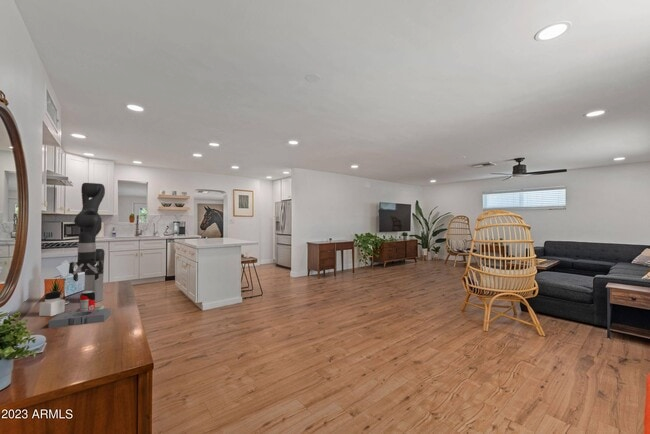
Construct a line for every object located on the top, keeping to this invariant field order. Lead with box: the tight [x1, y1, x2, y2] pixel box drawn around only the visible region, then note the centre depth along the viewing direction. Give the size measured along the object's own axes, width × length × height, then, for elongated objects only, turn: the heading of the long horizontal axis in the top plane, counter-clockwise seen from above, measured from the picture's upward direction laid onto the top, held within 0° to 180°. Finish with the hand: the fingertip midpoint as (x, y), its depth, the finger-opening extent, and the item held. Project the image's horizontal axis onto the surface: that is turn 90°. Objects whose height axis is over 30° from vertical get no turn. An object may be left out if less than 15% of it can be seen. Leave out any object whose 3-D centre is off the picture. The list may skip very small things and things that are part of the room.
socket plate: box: [48, 307, 112, 329], centre depth 139 cm, size 21×12×4 cm, turn 115°
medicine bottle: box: [39, 290, 66, 317], centre depth 149 cm, size 7×7×12 cm
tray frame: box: [72, 305, 105, 312], centre depth 150 cm, size 12×12×2 cm
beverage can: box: [79, 291, 96, 311], centre depth 150 cm, size 6×6×12 cm
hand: (86, 280), depth 150 cm, fingers open, 8 cm apart
